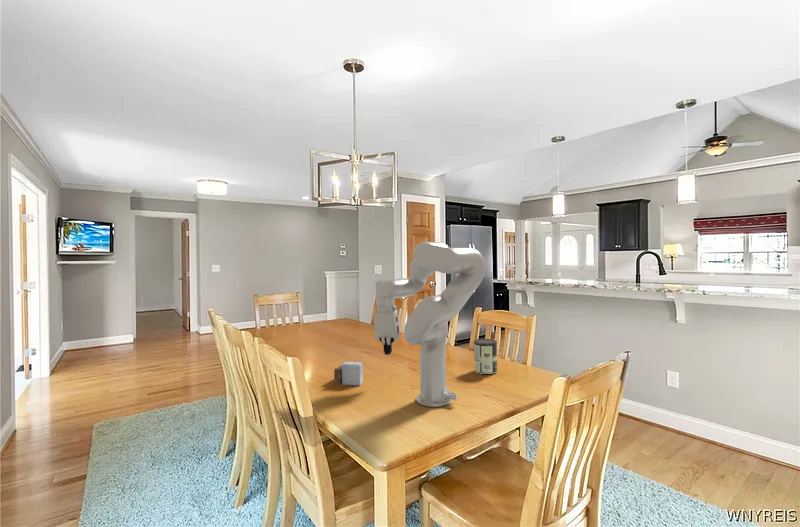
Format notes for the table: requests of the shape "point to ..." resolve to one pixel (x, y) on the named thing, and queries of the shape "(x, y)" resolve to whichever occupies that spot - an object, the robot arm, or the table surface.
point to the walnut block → (338, 375)
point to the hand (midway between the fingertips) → (387, 353)
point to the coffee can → (485, 356)
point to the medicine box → (352, 373)
